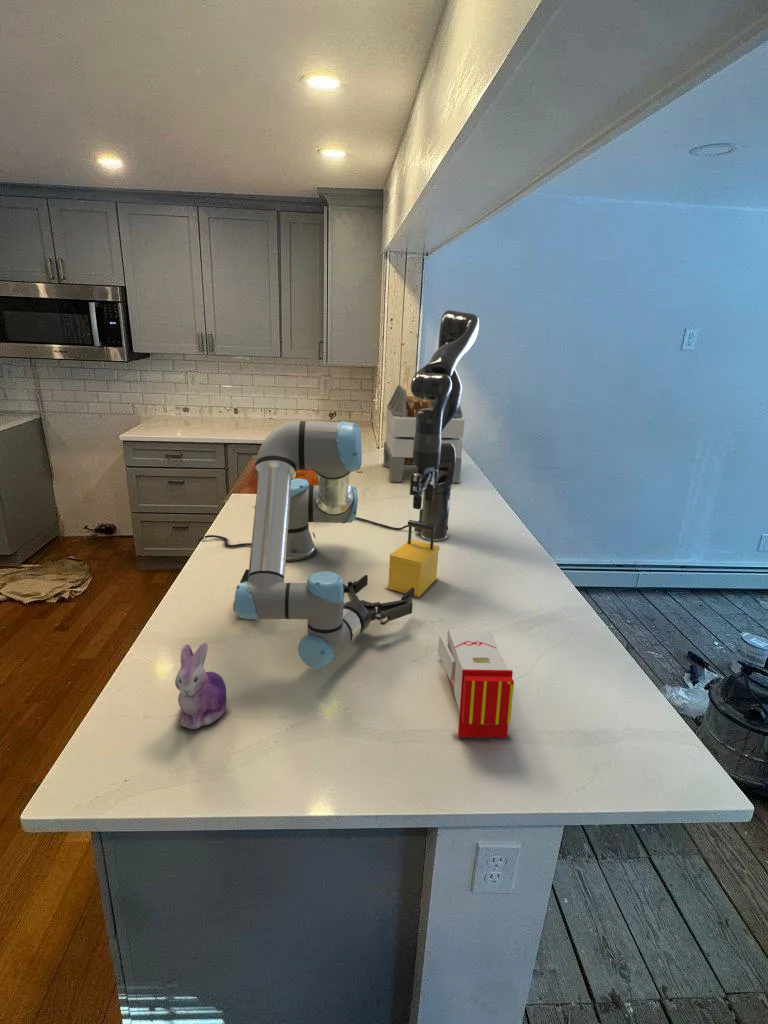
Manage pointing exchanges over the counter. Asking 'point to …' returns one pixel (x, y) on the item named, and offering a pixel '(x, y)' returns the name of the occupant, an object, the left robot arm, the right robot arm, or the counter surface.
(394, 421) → the grey storage bin
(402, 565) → the chest
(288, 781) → the counter surface
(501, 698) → the toy
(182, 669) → the figurine
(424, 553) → the yellow handled panel
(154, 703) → the counter surface
